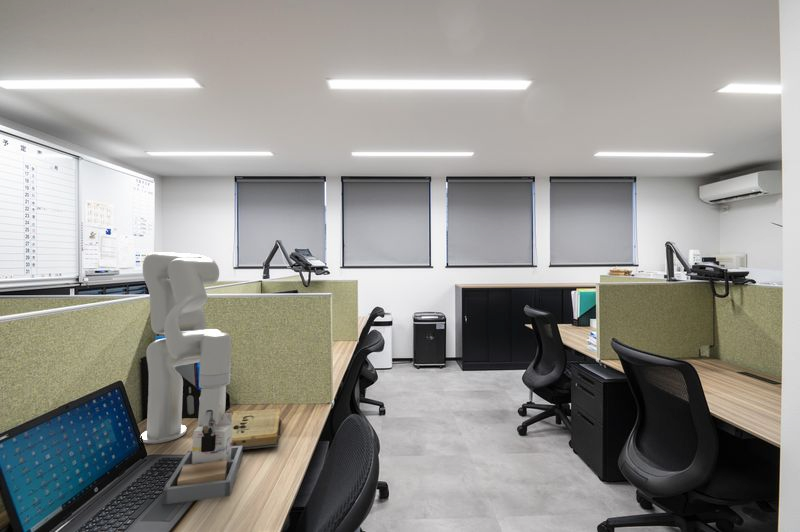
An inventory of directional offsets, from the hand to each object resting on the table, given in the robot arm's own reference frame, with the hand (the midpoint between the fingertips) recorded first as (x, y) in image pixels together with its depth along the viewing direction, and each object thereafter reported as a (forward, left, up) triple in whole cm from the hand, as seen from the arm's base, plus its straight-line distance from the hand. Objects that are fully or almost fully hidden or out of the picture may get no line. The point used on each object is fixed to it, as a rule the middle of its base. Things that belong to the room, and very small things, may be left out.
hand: (212, 442), depth 97 cm
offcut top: (+9, 0, -5) cm, 10 cm away
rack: (+5, 0, -8) cm, 9 cm away
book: (-19, +8, -8) cm, 22 cm away
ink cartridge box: (0, 0, -8) cm, 8 cm away
